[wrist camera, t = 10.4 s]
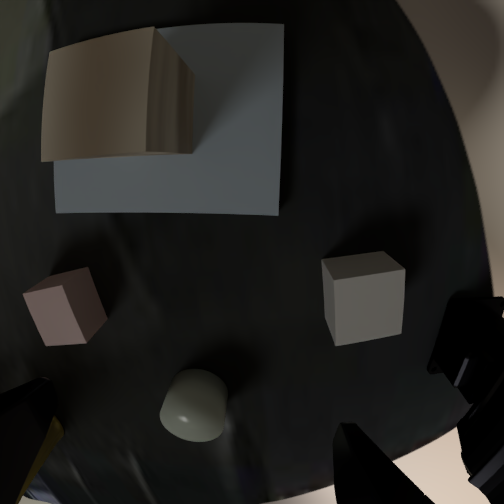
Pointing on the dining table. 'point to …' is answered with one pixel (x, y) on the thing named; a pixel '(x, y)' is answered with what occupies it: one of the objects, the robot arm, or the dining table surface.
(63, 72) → the birch block
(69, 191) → the blue board
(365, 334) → the off-white block
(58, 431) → the vase
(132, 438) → the dining table surface
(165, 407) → the sage cylinder
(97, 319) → the pink block
